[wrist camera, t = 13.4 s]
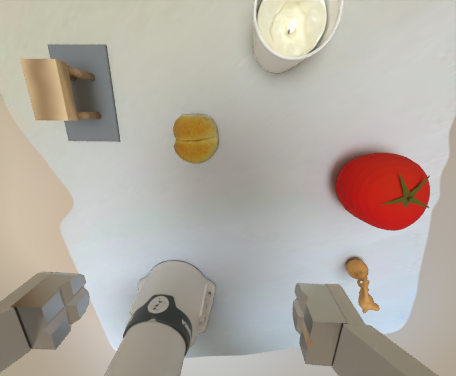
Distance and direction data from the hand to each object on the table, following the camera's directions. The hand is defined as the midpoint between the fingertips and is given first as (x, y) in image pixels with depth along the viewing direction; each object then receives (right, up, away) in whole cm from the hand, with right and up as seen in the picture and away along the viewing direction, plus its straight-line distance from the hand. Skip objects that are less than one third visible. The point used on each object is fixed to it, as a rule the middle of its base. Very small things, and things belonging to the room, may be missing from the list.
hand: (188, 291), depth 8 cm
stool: (-24, +20, +30) cm, 44 cm away
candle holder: (+10, +28, +27) cm, 40 cm away
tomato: (+27, +5, +33) cm, 43 cm away
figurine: (+28, -13, +39) cm, 50 cm away
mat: (-24, +21, +30) cm, 44 cm away
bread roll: (-5, +14, +32) cm, 35 cm away
